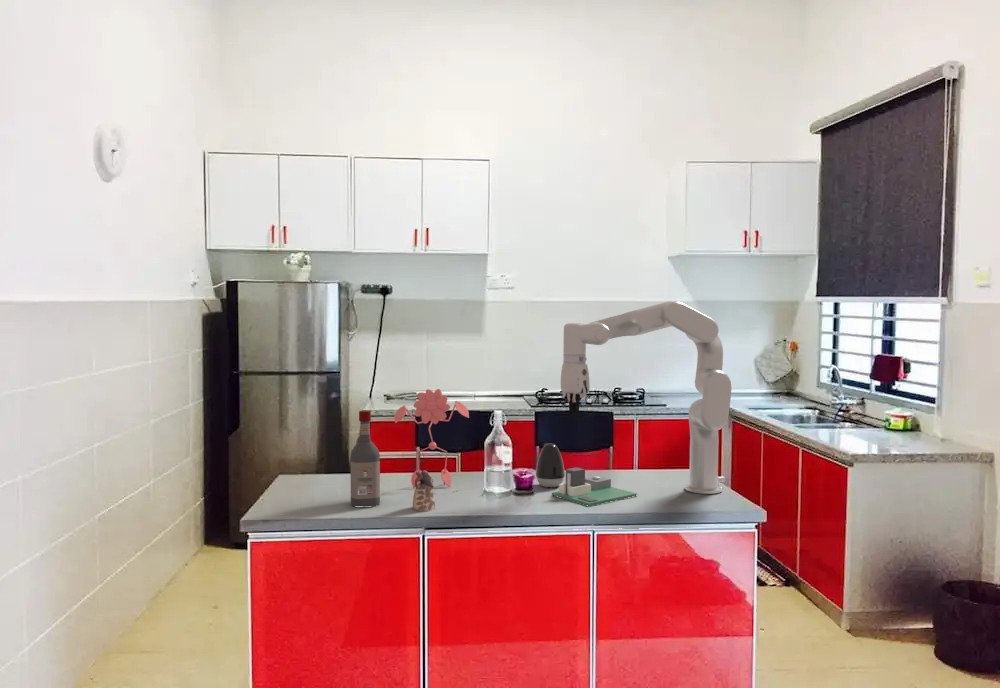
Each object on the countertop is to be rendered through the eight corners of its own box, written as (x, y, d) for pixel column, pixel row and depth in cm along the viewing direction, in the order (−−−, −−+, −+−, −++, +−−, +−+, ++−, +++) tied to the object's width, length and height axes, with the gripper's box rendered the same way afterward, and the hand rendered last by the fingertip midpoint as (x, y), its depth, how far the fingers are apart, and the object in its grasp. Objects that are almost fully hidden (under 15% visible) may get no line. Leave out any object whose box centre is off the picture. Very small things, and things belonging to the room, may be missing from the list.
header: (576, 489, 275) (576, 480, 275) (591, 493, 269) (591, 484, 269) (559, 492, 270) (559, 483, 270) (573, 496, 264) (573, 487, 264)
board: (598, 486, 283) (598, 479, 283) (636, 496, 269) (636, 488, 269) (551, 495, 270) (551, 487, 270) (589, 506, 256) (589, 498, 256)
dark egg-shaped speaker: (557, 481, 291) (558, 440, 290) (569, 488, 281) (569, 445, 280) (531, 483, 287) (531, 441, 287) (541, 490, 278) (542, 446, 277)
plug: (576, 490, 273) (576, 467, 272) (584, 493, 269) (585, 469, 269) (564, 493, 269) (564, 469, 269) (572, 495, 266) (572, 471, 266)
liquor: (380, 507, 254) (379, 412, 253) (350, 508, 253) (350, 413, 251) (379, 500, 263) (379, 408, 262) (351, 501, 262) (350, 409, 260)
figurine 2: (437, 510, 250) (437, 472, 250) (415, 512, 248) (414, 473, 248) (432, 504, 257) (432, 467, 257) (410, 506, 255) (410, 469, 255)
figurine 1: (394, 484, 285) (394, 386, 282) (467, 483, 287) (467, 386, 285) (393, 496, 269) (393, 392, 267) (470, 494, 272) (471, 392, 270)
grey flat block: (596, 483, 283) (596, 474, 283) (610, 487, 278) (610, 477, 278) (582, 486, 279) (582, 476, 279) (596, 490, 274) (596, 480, 273)
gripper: (598, 360, 269) (597, 415, 270) (567, 358, 280) (567, 410, 281) (581, 361, 264) (581, 417, 265) (551, 358, 276) (551, 412, 277)
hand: (574, 413), depth 273 cm, fingers closed
